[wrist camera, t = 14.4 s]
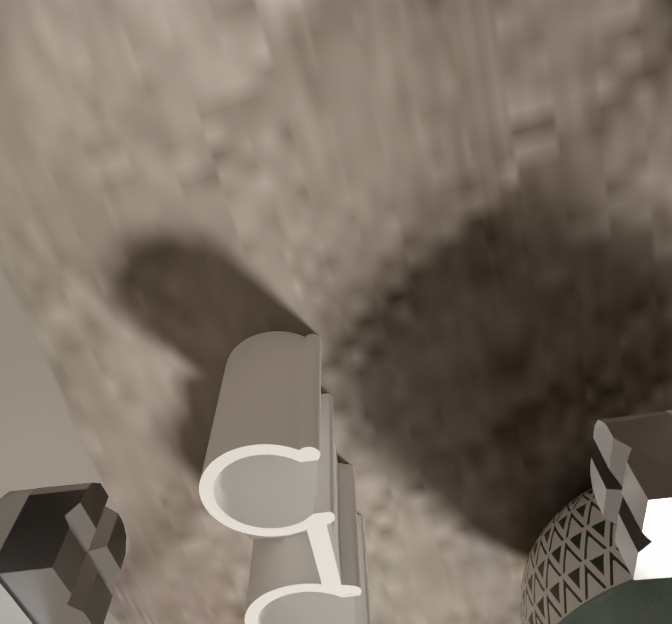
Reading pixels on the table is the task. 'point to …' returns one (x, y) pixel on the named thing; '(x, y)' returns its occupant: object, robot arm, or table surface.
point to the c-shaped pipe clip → (287, 485)
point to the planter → (587, 575)
